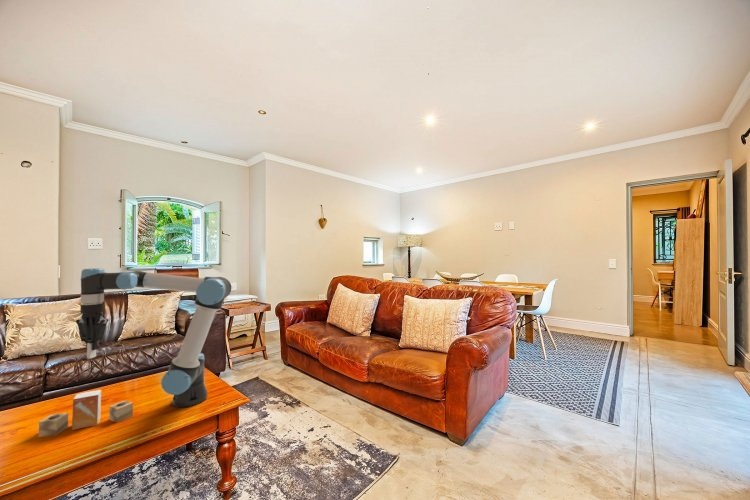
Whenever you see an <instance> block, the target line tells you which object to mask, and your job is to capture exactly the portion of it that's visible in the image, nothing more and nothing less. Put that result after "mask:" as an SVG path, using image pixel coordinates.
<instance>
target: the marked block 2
mask: <svg viewBox="0 0 750 500" xmlns="http://www.w3.org/2000/svg"><path fill="white" fill-rule="evenodd" d="M108 408H109V409H108V410H109V412H108V413H109V415H108V416H109V418H108V419H109V421H112V422H114V423H119V422H122V421H124V420H127V419H129V418H131V417H133V411H134V410H133V408H134V403H133V402H131V401H128V400H122V401H120V402H116V403H115V404H112V405H110V406H109V407H108Z"/></svg>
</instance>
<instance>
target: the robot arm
mask: <svg viewBox="0 0 750 500" xmlns="http://www.w3.org/2000/svg"><path fill="white" fill-rule="evenodd" d="M80 274H81V275H80V304H81V305H80V309H79V310H80V314H82V315H81V317H80V318H79V319H76V320H75V323H76V325H77V328H78V332H79V336H80V340H81V342H82V343H83V342H84V343H85V350H86V359H93V358H96V357H97V350H98V343H99V342H100V341H103V339H104V335H105V331H106V326H107V323H109V318H104V315H103V312H104V310H105V309H104V308H105V304H104V303H103V302H104V301H105V291H107V290H131V289H134V288H141V289H142V288H143V289H144V288H145V289H155V290H156V289H157V290H166V291H175V292H184V293H185V292H187V293H195V296H196V298H195V300H194V304H195V306H196V307H195V308H196V309H195V311H194V313H193V316H192V317H191V318H192V319H191V320H190V323H189V326H188V328H187V331H186V333H185V336H184V339H183V342H182V344H181V347H180V349H179V352H178V354H177V356H175V357H174V358H172V360H171V363H170V365H169V367H168V370H167V372H165V373H164V375H162V378H161V381H160V385H161V388H162V389H163V391H164V392H165V393H167V394H168V395H173V398H172V406H174V407H175V408H187V407H192V405H193V406H196V405H198V404H197V403H199V404H201V403H203V402H205V401H206V400H207V399H206V398H208V397H207V396H208V390H207V387H206V384H205V354H204V353H202V350H203V347H204V344H205V342H206V339H207V337H208V335H209V332H210V329H211V326H212V323H213V321H214V319H215V316H216V313H217V311H219V310H221V309H222V307H223V304H224V302H225V299H226V298H227V297H228V296H229V295H230V294H231V292H232V283H231V282H230V281H229V280H228V279H227V278H225V277H223V276H204V277H194V276H193V277H192V276H185V275H177V274H176V275H175V274H174V275H173V274H166V273H165V274H164V273H156V272H155V273H154V272H146V271H144V270H143V271H142V270H135V271H134V270H133V271H124V272H122V271H121V272H106V271H105V269H104V268H101V267H99V268H83V269H82V270H81V273H80ZM205 399H206V400H205ZM202 401H203V402H202ZM200 402H201V403H200ZM195 404H196V405H195Z"/></svg>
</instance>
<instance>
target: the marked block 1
mask: <svg viewBox="0 0 750 500" xmlns="http://www.w3.org/2000/svg"><path fill="white" fill-rule="evenodd" d="M69 414H70V413H69V412H68V413H67V412H63V413H52V414H50V415H48V416H46V417H45V418H42V419H41V420H39V421H38V438H40V437H52V436H57V435H59V434H60V433H62V432H63V431H64V430H66V429H67V428H69Z"/></svg>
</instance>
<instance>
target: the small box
mask: <svg viewBox="0 0 750 500" xmlns="http://www.w3.org/2000/svg"><path fill="white" fill-rule="evenodd" d="M101 402H102V389H97V390H90V391H85V392H81V393H76V395H75V396H74V397H73V400H72V418H71V420H72V421H71V431H74V430H79V429H83V428H88V427H92V426H93V427H94V426H97V425H98V424H99V422H100V420H101V414H102V413H101V411H102V410H101V409H102V405H101V404H102V403H101Z"/></svg>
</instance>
